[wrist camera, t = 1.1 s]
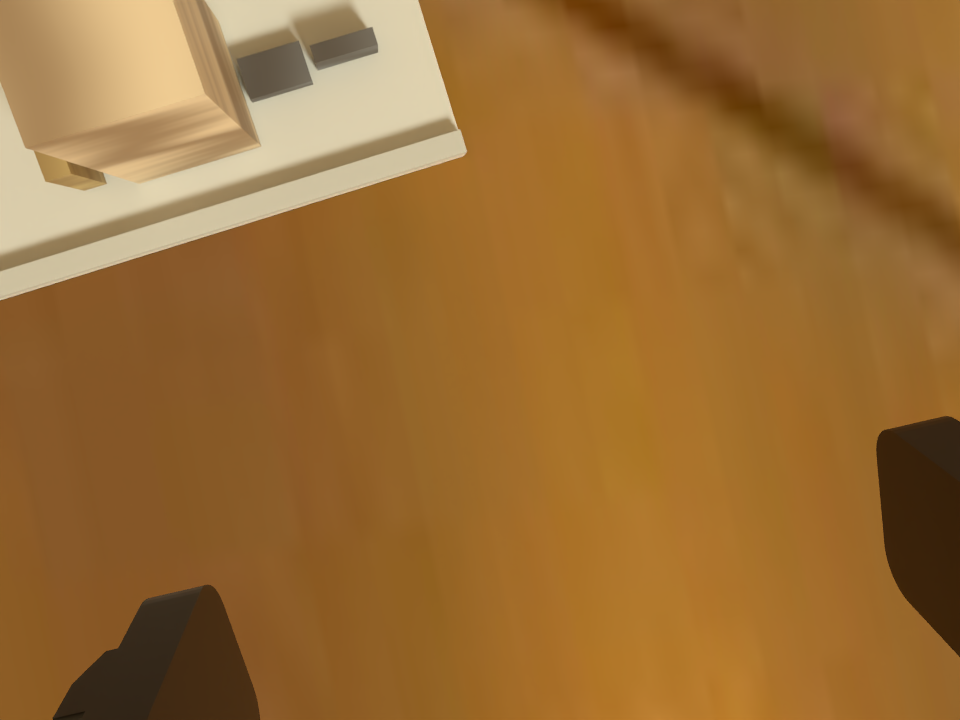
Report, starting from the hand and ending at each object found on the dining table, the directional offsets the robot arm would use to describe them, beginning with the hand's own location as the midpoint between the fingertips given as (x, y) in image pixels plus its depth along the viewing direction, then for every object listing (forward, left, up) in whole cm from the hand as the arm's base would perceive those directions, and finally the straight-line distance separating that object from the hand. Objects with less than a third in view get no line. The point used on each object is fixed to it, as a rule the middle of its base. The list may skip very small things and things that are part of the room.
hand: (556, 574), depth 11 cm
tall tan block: (+2, -12, -23) cm, 26 cm away
